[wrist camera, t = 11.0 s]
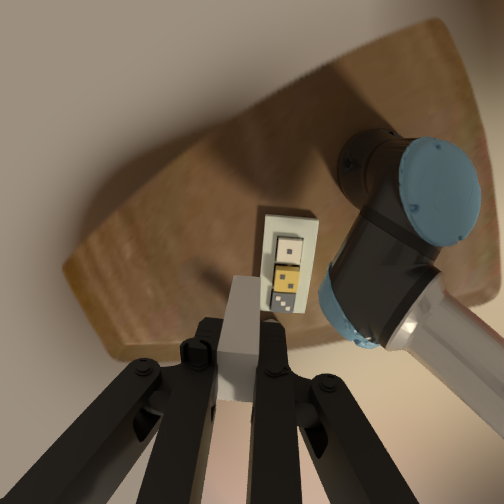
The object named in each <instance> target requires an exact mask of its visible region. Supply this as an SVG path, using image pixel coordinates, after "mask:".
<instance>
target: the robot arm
mask: <svg viewBox="0 0 504 504" xmlns="http://www.w3.org/2000/svg"><path fill="white" fill-rule="evenodd" d="M337 173H338V180H339V184H340V187H341V189H342V192H343V193H344V195H345V197H346V198H347V199H348V200H349V202H350V203H351V204H353V205H354V206H355V207H356V208H358V209H359V210H361V211H360V213H359V214H358V216H357V218H356V220H355V222H354V224H353V225H352V227H351V229H350V231H349V233H348V235H347V236H346V238H345V240H344V242H343V244H342V245H341V247H340V249H339V251H338V253H337V254H336V256H335V258H334V260H333V261H332V262H331V263H330V264H329V266H328V268H327V273H326V275H325V277H324V279H323V281H322V283H321V285H320V287H319V290H318V295H319V304H320V307H321V309H322V311H323V313H324V315H325V317H326V318H327V320H328V321H329V322H330V324H331V325H332V326H333V327H334V328H335V329H336V330H337V331H338V332H339V333H340V334H341V335H342V336H343V337H345V338H346V339H347V340H349V341H352V340H353V341H354V342H355V344H356V345H357V346H360V347H362V348H367V349H373V348H376V347H377V346H380V345H381V346H382V347H383V348H385V349H386V350H387V351H397V350H405V351H407V352H408V353H409V354H411V355H412V356H413V357H414V358H415V359H416V360H418V361H419V362H420V363H421V364H422V365H423V366H424V367H425V368H426V369H428V370H429V371H430V372H431V373H432V374H433V375H434V376H436V377H437V378H438V379H439V380H440V381H441V382H442V383H443V384H444V385H445V386H447V387H448V388H449V389H450V390H451V391H452V392H453V393H454V394H455V395H457V396H458V397H459V398H460V399H461V400H462V401H463V402H464V403H465V404H466V405H468V406H469V407H470V408H471V409H472V410H473V411H474V412H475V413H476V414H477V415H478V416H479V417H480V418H482V419H483V420H484V421H485V422H486V423H487V424H488V425H489V426H490V427H491V428H492V429H493V430H494V431H495V432H497V433H498V434H499V435H500V436H501V437H502V438H503V439H504V338H503V337H501V336H500V335H499V334H498V333H497V332H496V331H495V330H494V329H492V328H491V327H490V326H489V325H488V324H486V323H485V322H484V321H483V320H482V319H481V318H479V317H478V316H477V315H476V314H475V313H473V312H472V311H471V310H470V309H468V308H467V307H466V306H465V305H463V304H462V303H461V302H460V301H458V300H457V299H456V298H455V297H453V296H452V295H451V294H449V292H448V291H447V287H446V281H445V275H444V273H443V272H441V271H440V270H439V269H437V268H436V267H434V266H433V264H434V262H435V260H436V258H437V257H438V255H439V253H440V251H441V249H442V248H443V247H447V246H453V245H455V244H457V241H459V240H461V241H462V240H464V239H465V238H466V237H467V236H468V235H469V233H470V232H471V231H472V229H473V227H474V225H475V223H476V221H477V218H478V215H479V211H480V205H481V188H480V185H479V184H478V175H477V172H476V169H475V167H474V165H473V163H472V161H471V160H470V158H469V157H468V156H467V154H466V153H465V152H464V151H463V150H462V149H460V148H459V147H458V146H456V145H455V144H453V143H451V142H448V141H445V140H440V139H436V138H432V137H422V138H403V137H402V136H400V135H399V134H397V133H395V132H393V131H390V130H386V129H369V130H365V131H362V132H360V133H358V134H356V135H355V136H353V137H352V138H351V139H350V140H349V141H348V142H347V143H346V144H345V146H344V147H343V149H342V151H341V154H340V156H339V160H338V167H337ZM260 296H261V277H251V276H238V275H234V277H233V281H232V285H231V290H230V294H229V299H228V303H227V308H226V312H225V317H224V319H219V318H209V317H205V318H204V319H203V320H202V321H201V322H199V325H198V328H197V331H196V334H195V336H194V338H190V339H187V340H185V341H183V342H182V343H181V345H180V355H181V363H180V364H178V365H175V366H169V367H160V365H159V364H158V363H157V362H156V361H154V360H153V359H149V358H139V359H136V360H134V361H132V362H131V363H129V364H128V366H127V367H126V368H125V369H124V370H123V371H122V372H121V373H120V374H119V375H118V376H117V377H116V378H115V379H114V380H113V381H112V382H111V383H110V384H109V385H108V387H106V388H105V390H104V391H103V392H102V393H101V394H100V395H99V396H98V397H97V398H96V399H95V400H94V401H93V402H92V403H91V404H90V405H89V407H87V409H86V410H85V411H84V412H83V413H82V414H81V415H80V416H79V417H78V418H77V419H76V420H75V421H74V422H73V423H72V425H70V427H69V428H68V429H67V430H66V431H65V432H64V433H63V434H62V435H61V436H60V437H59V438H58V439H57V440H56V441H55V442H54V443H53V445H52V446H51V447H50V448H49V449H48V450H47V451H46V452H45V453H44V454H43V455H42V456H41V457H40V459H39V460H38V461H37V462H36V463H35V464H34V465H33V466H32V467H31V468H30V469H29V471H27V473H26V474H25V475H24V476H23V477H22V478H21V479H20V480H19V481H18V482H17V483H16V485H15V486H14V487H13V488H12V489H11V490H10V491H9V492H8V493H7V494H6V495H5V497H4V498H1V499H0V504H106V503H107V502H108V501H109V499H110V498H111V496H112V495H113V494H114V492H115V491H116V489H117V488H118V487H119V485H120V484H121V482H122V481H123V480H124V478H125V477H126V475H127V474H128V472H129V471H130V470H131V468H132V467H133V465H134V464H135V463H136V461H137V460H138V458H139V457H140V455H141V453H143V451H144V450H145V448H146V447H147V445H148V444H149V442H150V441H151V440H152V438H153V436H154V435H155V434H156V432H157V431H158V429H159V431H158V433H157V436H156V440H155V443H154V446H153V449H152V452H151V455H150V458H149V462H148V465H147V468H146V471H145V475H144V478H143V481H142V485H141V488H140V491H139V495H138V498H137V502H136V504H201V498H202V492H203V486H204V480H205V473H206V467H207V460H208V455H209V449H210V443H211V437H212V430H213V424H214V418H215V412H216V399H221V400H230V401H241V402H253V407H252V415H251V437H250V452H249V469H248V484H247V499H246V504H302V491H301V476H300V461H299V447H298V435H297V426H299V430H300V432H301V435H302V437H303V440H304V442H305V444H306V447H307V449H308V451H309V454H310V456H311V459H312V461H313V464H314V466H315V468H316V471H317V473H318V475H319V478H320V480H321V482H322V485H323V487H324V490H325V492H326V494H327V497H328V499H329V501H330V503H331V504H419V502H418V501H417V499H416V498H415V496H414V494H413V493H412V491H411V489H410V488H409V486H408V484H407V483H406V481H405V479H404V478H403V476H402V475H401V473H400V471H399V470H398V468H397V466H396V465H395V463H394V461H393V460H392V458H391V457H390V455H389V453H388V452H387V450H386V449H385V447H384V445H383V444H382V442H381V440H380V439H379V437H378V435H377V434H376V432H375V431H374V429H373V427H372V426H371V424H370V423H369V421H368V419H367V418H366V416H365V414H364V413H363V411H362V410H361V408H360V407H359V405H358V403H357V402H356V400H355V398H354V397H353V395H352V394H351V392H350V390H349V389H348V387H347V386H346V384H345V382H344V381H343V380H342V379H341V378H340V377H338V376H336V375H333V374H320V375H317V376H315V377H314V378H313V379H312V380H311V379H307V378H303V377H301V376H298V375H297V374H295V373H294V372H293V371H291V368H290V367H289V365H288V355H287V345H286V335H285V329H284V327H283V326H282V325H281V323H277V322H263V321H260Z"/></svg>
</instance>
